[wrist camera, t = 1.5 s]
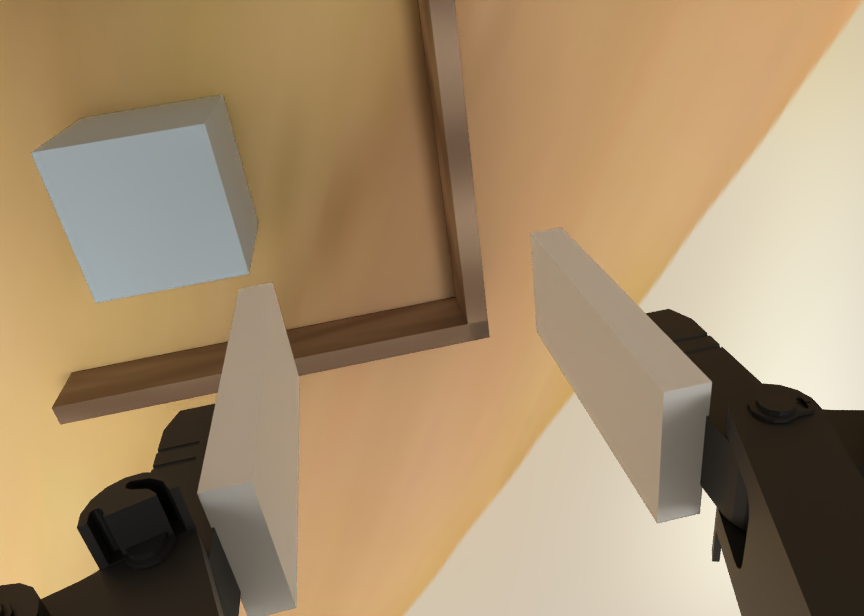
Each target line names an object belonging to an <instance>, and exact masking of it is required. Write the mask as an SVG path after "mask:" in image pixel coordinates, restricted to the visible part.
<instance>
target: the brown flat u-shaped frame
mask: <svg viewBox="0 0 864 616" xmlns="http://www.w3.org/2000/svg"><path fill="white" fill-rule="evenodd" d="M418 5H419V12H420V20H421V28H422V36H423V44H424V52H425V59H426V67H427V75H428V83H429V91H430V99H431V106H432V114H433V122H434V130H435V138H436V145H437V153H438V161H439V169H440V177H441V185H442V192H443V200H444V208H445V216H446V224H447V231H448V239H449V247H450V255H451V263H452V271H453V278H454V286H455V294H456V297H454V298H449V299H444V300H438V301H433V302H428V303H423V304H418V305H413V306H408V307H403V308H398V309H393V310H388V311H383V312H378V313H373V314H368V315H362V316H357V317H352V318H347V319H342V320H337V321H332V322H327V323H322V324H317V325H312V326H307V327H302V328H297V329H291V330H286V332H287V336H288V339H289V343H290V347H291V350H292V354H293V357H294V361H295V365H296V368H297V372H298V375H299V376H301V375H306V374H311V373H316V372H321V371H326V370H331V369H336V368H340V367H345V366H350V365H355V364H360V363H365V362H370V361H375V360H380V359H385V358H390V357H394V356H399V355H404V354H409V353H414V352H419V351H424V350H429V349H434V348H439V347H444V346H448V345H453V344H458V343H463V342H468V341H473V340H478V339H483V338H488V337H489V328H488V318H487V309H486V299H485V289H484V280H483V270H482V260H481V251H480V241H479V231H478V222H477V212H476V202H475V193H474V183H473V173H472V163H471V154H470V144H469V134H468V125H467V115H466V105H465V96H464V86H463V76H462V67H461V57H460V47H459V38H458V28H457V18H456V8H455V0H418ZM227 345H228V342H226V343H220V344H215V345H210V346H205V347H200V348H195V349H190V350H185V351H180V352H175V353H170V354H165V355H160V356H155V357H150V358H144V359H139V360H134V361H129V362H124V363H119V364H114V365H109V366H104V367H99V368H94V369H89V370H84V371H79V372H73V373H71V375H70V377H69V379H68V380H67V382H66V384H65V386H64V387H63V389H62V391H61V393H60V394H59V396H58V398H57V400H56V401H55V403H54V405H53V407H52V409H53V411H54V413H55V415H56V417H57V419H58V421H59V423H60V424H65V423H70V422H75V421H80V420H85V419H90V418H95V417H100V416H105V415H110V414H115V413H119V412H124V411H129V410H134V409H139V408H144V407H149V406H154V405H159V404H164V403H169V402H173V401H178V400H183V399H188V398H193V397H198V396H203V395H208V394H213V393H218V389H219V384H220V379H221V374H222V370H223V365H224V360H225V355H226V350H227Z"/></svg>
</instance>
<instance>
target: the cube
mask: <svg viewBox="0 0 864 616" xmlns="http://www.w3.org/2000/svg"><path fill="white" fill-rule="evenodd" d="M31 154H32V157H33V159H34V161H35V163H36V166H37V168H38V170H39V173H40V175H41V177H42V180H43V182H44V184H45V187H46V189H47V191H48V194H49V196H50V198H51V201H52V203H53V205H54V208H55V210H56V212H57V214H58V217H59V219H60V221H61V224H62V226H63V228H64V231H65V233H66V235H67V238H68V240H69V242H70V245H71V247H72V249H73V252H74V254H75V256H76V258H77V261H78V263H79V265H80V268H81V270H82V272H83V275H84V277H85V279H86V282H87V284H88V286H89V289H90V291H91V293H92V296H93V298H94V300H95V302H96V303H99V302H104V301H109V300H115V299H120V298H125V297H130V296H136V295H141V294H146V293H152V292H157V291H162V290H167V289H173V288H178V287H183V286H189V285H194V284H199V283H204V282H210V281H215V280H220V279H226V278H231V277H236V276H241V275H247V274H249V272H250V266H251V261H252V255H253V250H254V244H255V239H256V233H257V228H258V220H257V216H256V212H255V209H254V205H253V202H252V198H251V194H250V191H249V187H248V183H247V180H246V176H245V173H244V169H243V165H242V162H241V158H240V154H239V151H238V147H237V144H236V140H235V136H234V133H233V129H232V125H231V122H230V118H229V115H228V111H227V107H226V104H225V100H224V97H223V95H217V96H211V97H205V98H199V99H193V100H187V101H181V102H175V103H169V104H163V105H156V106H150V107H144V108H138V109H132V110H126V111H120V112H114V113H108V114H102V115H96V116H90V117H84V118H81V119H79V120H78V121H76V122H75V123H73V124H72V125H71V126H69V127H68V128H66V129H65V130H63V131H62V132H60V133H59V134H57V135H56V136H55V137H53V138H52V139H50V140H49V141H47V142H46V143H44V144H43V145H41V146H40V147H39V148H37V149H36V150H34V151H33V152H31Z"/></svg>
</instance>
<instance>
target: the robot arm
mask: <svg viewBox="0 0 864 616" xmlns="http://www.w3.org/2000/svg"><path fill="white" fill-rule="evenodd" d="M531 246H532V262H533V278H534V295H535V311H536V327H537V333H538V334H539V336H540V338H541V339H542V341H543V342H544V344H545V345H546V347H547V349H548V350H549V352H550V353H551V355H552V357H553V358H554V360H555V361H556V363H557V365H558V366H559V368H560V369H561V371H562V373H563V374H564V376H565V377H566V379H567V381H568V382H569V384H570V385H571V387H572V388H573V390H574V392H575V393H576V395H577V396H578V398H579V400H580V401H581V403H582V404H583V406H584V407H585V409H586V411H587V412H588V414H589V415H590V417H591V419H592V420H593V422H594V424H595V425H596V427H597V428H598V430H599V431H600V433H601V435H602V436H603V438H604V439H605V441H606V443H607V444H608V446H609V447H610V449H611V451H612V452H613V454H614V455H615V457H616V459H617V460H618V462H619V463H620V465H621V467H622V468H623V469H624V471H625V473H626V474H627V476H628V478H629V479H630V481H631V482H632V484H633V485H634V487H635V489H636V490H637V492H638V494H639V495H640V497H641V498H642V500H643V502H644V503H645V505H646V506H647V508H648V509H649V511H650V513H651V514H652V516H653V517H654V519H655V521H656V522H657V523H661V522H666V521H669V520H674V519H678V518H682V517H687V516H691V515H695V514H700V505H701V495H702V488H703V489H704V490H705V492H706V493H707V494H708V495H709V497H710V498H711V499H712V501H713V502H714V503H715V505H716V506H717V509H716V518H715V528H714V536H713V546H712V561H717V562H718V561H719V560H720V551H721V548H722V552H723V555H724V558H725V562H726V565H727V568H728V572H729V575H730V578H731V582H732V585H733V589H734V592H735V595H736V599H737V602H738V606H739V609H740V612H741V615H742V616H864V410H824V409H822V408H821V407H820V406H819V405H818V404H817V403H816V402H815V401H814V400H813V399H812V398H811V397H809V396H807V395H805V394H803V393H802V392H800V391H798V390H795V389H792V388H788V387H785V386H781V385H774V384H762V383H761V382H760V381H759V380H758V379H757V378H756V377H754V376H753V375H752V374H751V373H750V372H749V371H748V370H747V369H746V368H745V367H744V366H742V365H741V364H740V363H739V362H738V361H737V360H736V359H735V358H734V357H733V356H732V355H731V354H729V353H728V352H727V351H726V350H725V349H724V348H723V347H721V348H720V346H719V344H718V343H717V342H716V341H715V340H714V339H713V338H712V337H711V336H708V335H707V332H705V331H704V330H703V329H702V328H701V327H700V326H699V325H698V324H697V323H696V322H695V321H694V320H692V319H691V318H688V317H686V316H684V315H681V314H680V313H677V312H675V311H672V310H670V309H666V310H661V311H656V312H652V313H645V312H644V311H643V310H642V309H641V308H640V307H639V306H638V305H637V304H636V303H635V302H634V301H633V300H632V299H631V298H630V297H629V296H628V295H627V294H626V293H625V292H624V291H623V290H622V289H621V288H620V287H619V286H618V285H617V284H616V283H615V282H614V280H613V279H612V278H611V277H610V276H609V275H608V274H607V273H606V272H605V271H604V270H603V269H602V268H601V267H600V266H599V265H598V264H597V263H596V262H595V261H594V260H593V259H592V258H591V257H590V256H589V255H588V254H587V253H586V252H585V251H584V250H583V249H582V248H581V247H580V245H579V244H578V243H577V242H576V241H575V240H574V239H573V238H572V237H571V236H570V235H569V234H568V233H567V232H566V231H565V230H564V229H563V228H562V227H559V228H554V229H549V230H544V231H539V232H533V233H531ZM299 401H300V379H299V375H298V372H297V368H296V365H295V361H294V357H293V354H292V350H291V347H290V343H289V339H288V336H287V332H286V329H285V325H284V321H283V318H282V314H281V311H280V307H279V303H278V300H277V296H276V293H275V289H274V285H273V282H271V283H266V284H261V285H255V286H250V287H245V288H240V289H239V292H238V297H237V301H236V306H235V311H234V316H233V321H232V326H231V331H230V336H229V340H228V345H227V350H226V355H225V360H224V365H223V370H222V374H221V379H220V384H219V389H218V394H217V399H216V404H211V405H206V406H202V407H197V408H192V409H187V410H182V411H180V412H179V413H178V414H177V415H176V416H175V418H174V419H173V420H172V421H171V422H170V423H169V425H168V426H167V427H166V428H165V429H164V431H163V435H162V438H161V441H160V444H159V448H158V454H156V458H155V461H154V464H153V470H152V471H151V473H141V474H137V475H133V476H130V477H126V478H124V479H122V480H120V481H118V482H116V483H114V484H112V485H110V486H108V487H107V488H105V489H104V490H103V491H102V492H100V493H99V494H98V495H97V496H95V497H94V498H93V499H92V500H91V501H90V502H89V503H88V505H87V506H86V507H85V509H84V510H83V511H82V513H81V514H80V518H79V522H78V526H77V529H78V531H79V533H80V534H81V536H82V538H83V540H84V542H85V543H86V545H87V547H88V549H89V551H90V552H91V554H92V556H93V558H94V560H95V562H96V563H97V565H98V567H99V569H100V570H98V571H97V572H96V573H94V574H92V575H90V576H88V577H87V578H85V579H83V580H81V581H79V582H77V583H75V584H73V585H71V586H68V587H66V588H64V589H62V590H60V591H58V592H56V593H53V594H51V595H49V596H47V597H45V598H43V599H40V598H39V596H38V594H37V593H36V591H35V590H34V588H33V587H31V586H27V585H24V584H20V583H17V584H9V585H1V586H0V616H238V615H239V605H240V599H241V601H242V604H243V606H244V608H245V611H246V613H247V616H265V615H269V614H273V613H277V612H282V611H286V610H290V609H294V608H296V606H297V538H298V469H299Z"/></svg>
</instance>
